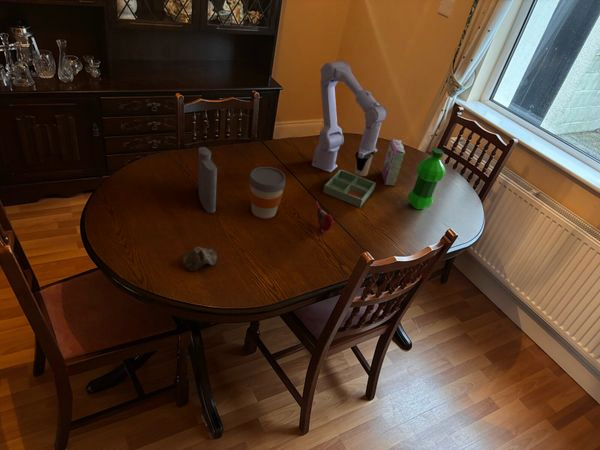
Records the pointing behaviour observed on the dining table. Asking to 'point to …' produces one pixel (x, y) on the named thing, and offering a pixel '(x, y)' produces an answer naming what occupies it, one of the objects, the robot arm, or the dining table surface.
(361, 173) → the paper cup
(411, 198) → the plastic bottle
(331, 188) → the green divided tray
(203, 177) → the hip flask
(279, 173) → the reusable coffee cup
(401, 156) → the candy bar box
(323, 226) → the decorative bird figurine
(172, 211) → the dining table surface
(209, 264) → the grey lumpy rock
